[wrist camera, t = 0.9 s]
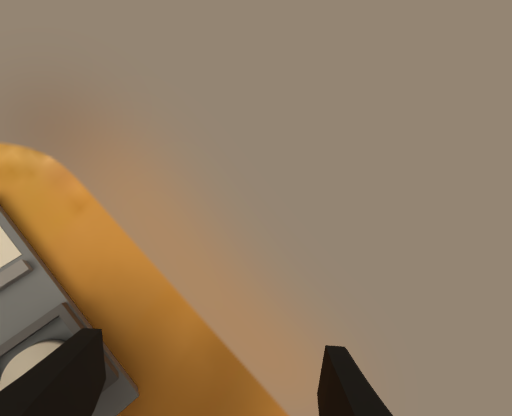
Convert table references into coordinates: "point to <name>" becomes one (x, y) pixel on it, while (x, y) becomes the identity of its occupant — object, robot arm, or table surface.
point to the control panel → (46, 314)
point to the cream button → (27, 360)
